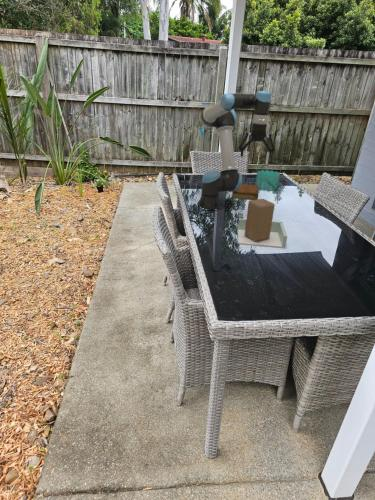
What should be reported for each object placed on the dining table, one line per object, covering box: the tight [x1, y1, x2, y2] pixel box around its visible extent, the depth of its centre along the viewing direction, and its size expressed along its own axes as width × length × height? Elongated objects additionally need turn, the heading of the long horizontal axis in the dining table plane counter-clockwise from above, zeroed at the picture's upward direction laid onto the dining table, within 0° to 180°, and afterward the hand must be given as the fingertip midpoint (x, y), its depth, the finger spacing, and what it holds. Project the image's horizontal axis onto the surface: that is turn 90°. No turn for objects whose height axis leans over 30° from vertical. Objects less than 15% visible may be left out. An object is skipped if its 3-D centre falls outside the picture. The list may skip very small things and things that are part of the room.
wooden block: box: [245, 198, 275, 241], centre depth 171 cm, size 10×10×20 cm
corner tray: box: [237, 218, 288, 249], centre depth 175 cm, size 24×20×7 cm
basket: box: [255, 169, 281, 192], centre depth 265 cm, size 19×18×13 cm
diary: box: [231, 183, 259, 201], centre depth 247 cm, size 23×19×6 cm
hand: (254, 163), depth 184 cm, fingers open, 13 cm apart
